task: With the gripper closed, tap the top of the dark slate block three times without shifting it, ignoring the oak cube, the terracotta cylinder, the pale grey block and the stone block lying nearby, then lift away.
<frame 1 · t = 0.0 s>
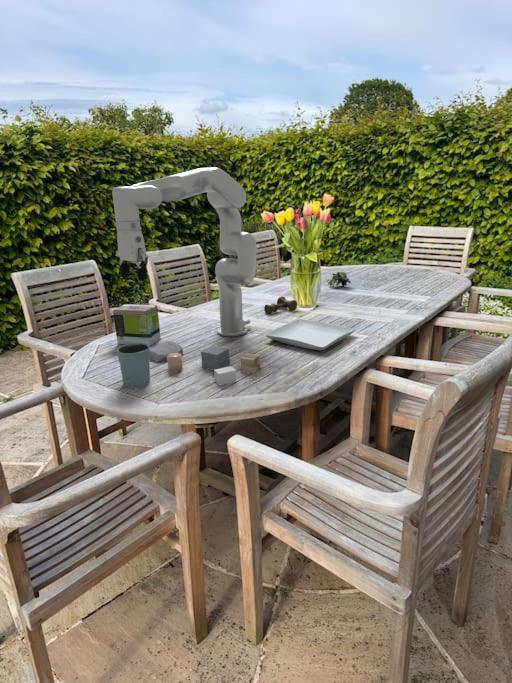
hand: (134, 278, 157), 31 cm above the table, tool pointing down, fingers open, 9 cm apart
miniature tree: (338, 287, 273), on the table
stone block: (166, 356, 174), on the table
slate block: (216, 366, 163), on the table
oak cube: (250, 369, 159), on the table
blue-grey cup: (137, 382, 152), on the table
pale grey block: (225, 381, 151), on the table
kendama: (281, 311, 229), on the table
square plate: (310, 340, 188), on the table
terracotta cylinder: (175, 368, 161), on the table
tea box: (139, 342, 190), on the table
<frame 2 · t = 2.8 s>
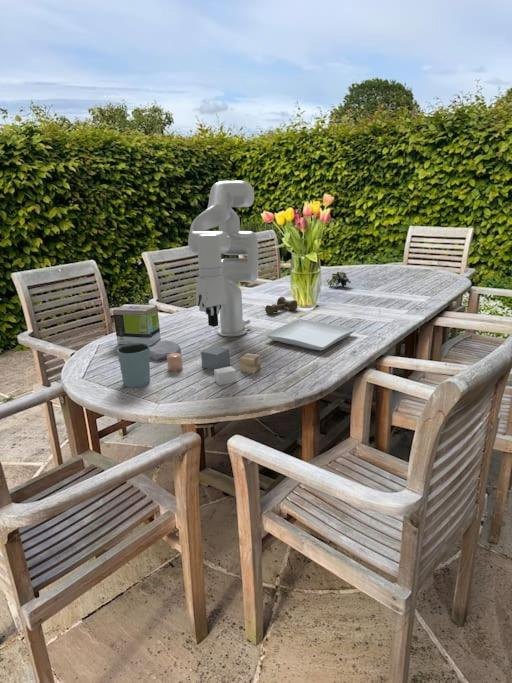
hand: (213, 325, 158), 15 cm above the table, tool pointing down, fingers closed
stone block: (164, 356, 175), on the table
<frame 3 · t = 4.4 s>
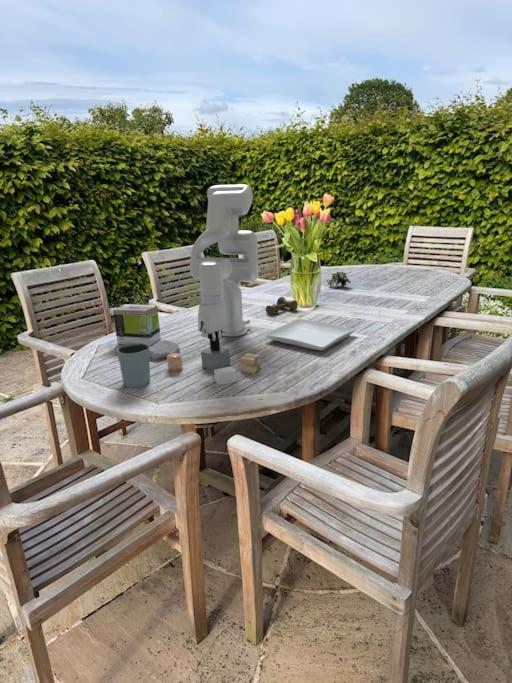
hand: (215, 349, 161), 6 cm above the table, tool pointing down, fingers closed
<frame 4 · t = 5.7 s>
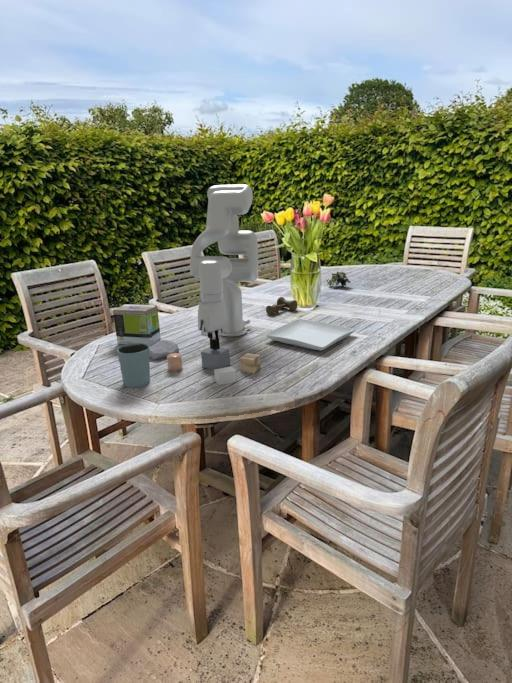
hand: (214, 348, 161), 6 cm above the table, tool pointing down, fingers closed
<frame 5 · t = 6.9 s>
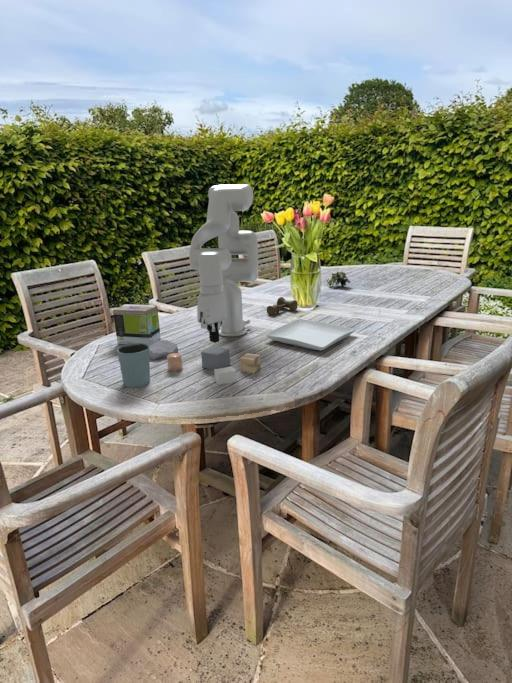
hand: (214, 341, 160), 9 cm above the table, tool pointing down, fingers closed
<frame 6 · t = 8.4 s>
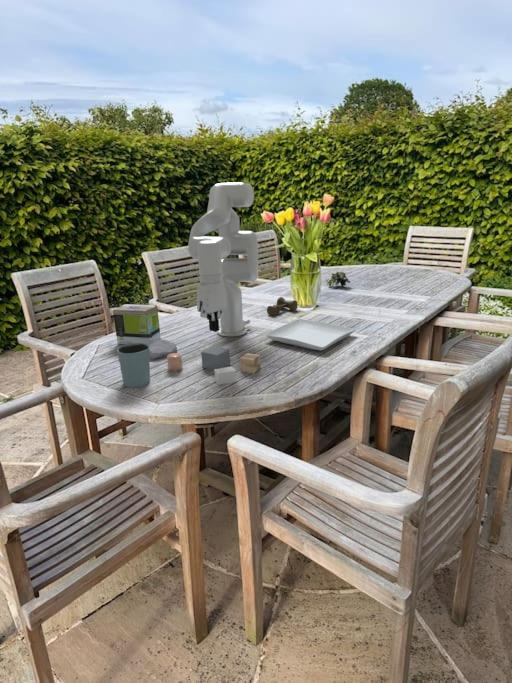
hand: (214, 330, 160), 13 cm above the table, tool pointing down, fingers closed
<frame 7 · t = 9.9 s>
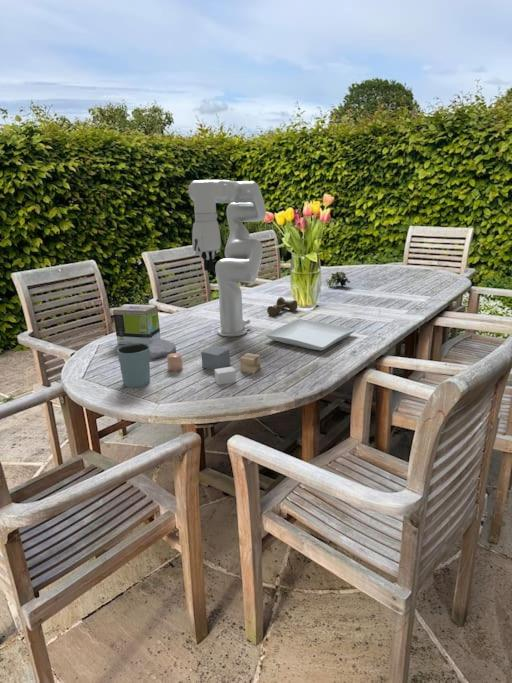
hand: (208, 270, 168), 31 cm above the table, tool pointing down, fingers closed
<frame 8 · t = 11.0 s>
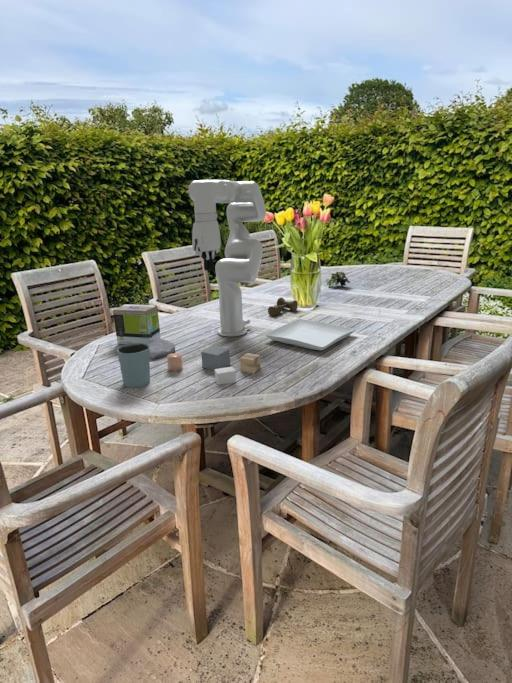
hand: (208, 270, 168), 31 cm above the table, tool pointing down, fingers closed
at the end: slate block moved 0.4 cm from its start; slate block tilted 0°; oak cube moved 0.1 cm from its start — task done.
